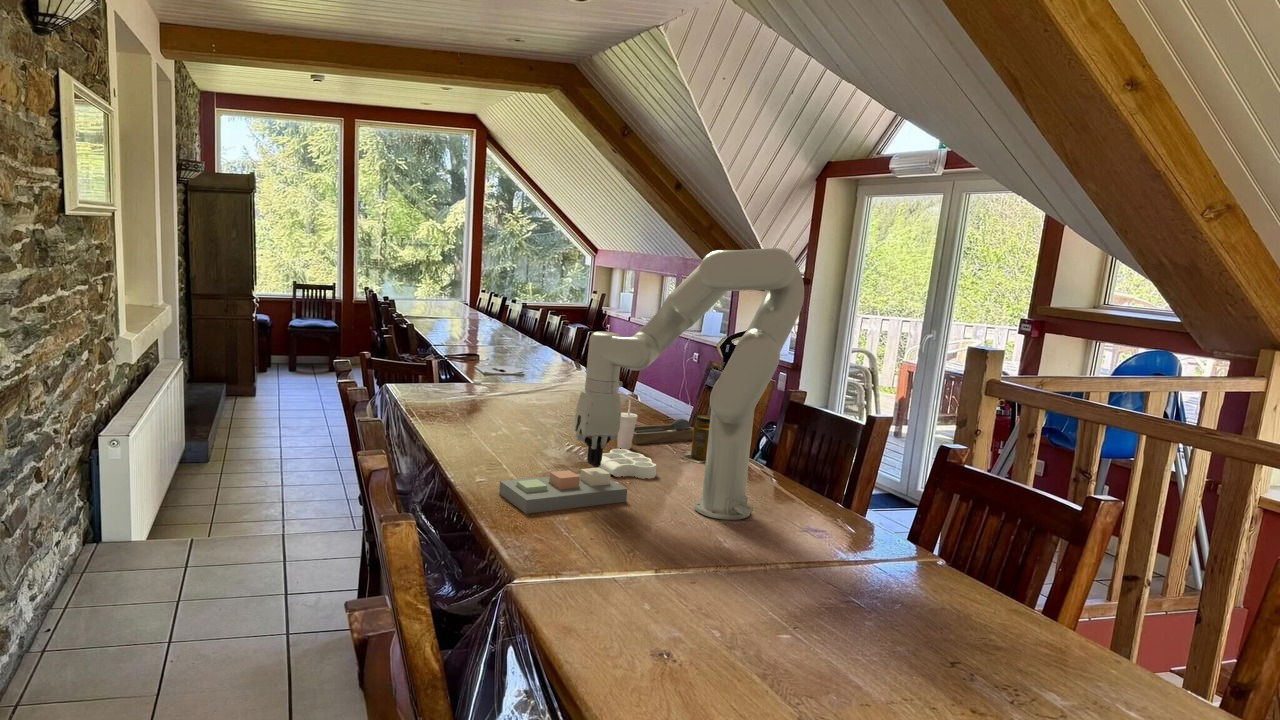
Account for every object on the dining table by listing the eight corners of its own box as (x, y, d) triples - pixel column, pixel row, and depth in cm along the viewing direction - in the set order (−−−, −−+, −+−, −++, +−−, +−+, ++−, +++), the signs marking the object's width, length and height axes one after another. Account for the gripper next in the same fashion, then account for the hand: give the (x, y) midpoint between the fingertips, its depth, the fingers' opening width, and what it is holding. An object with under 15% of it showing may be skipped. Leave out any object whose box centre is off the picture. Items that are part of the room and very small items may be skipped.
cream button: (609, 490, 185) (610, 473, 185) (590, 492, 182) (591, 475, 182) (598, 483, 189) (599, 467, 189) (579, 485, 187) (580, 469, 186)
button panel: (626, 501, 183) (627, 488, 182) (525, 513, 169) (526, 500, 169) (595, 483, 194) (596, 471, 194) (499, 493, 181) (500, 480, 180)
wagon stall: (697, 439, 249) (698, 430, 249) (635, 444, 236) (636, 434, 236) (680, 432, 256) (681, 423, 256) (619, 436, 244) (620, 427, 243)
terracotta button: (578, 493, 181) (579, 476, 180) (558, 495, 178) (560, 478, 177) (568, 487, 185) (569, 470, 184) (548, 489, 182) (549, 472, 182)
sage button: (546, 503, 177) (547, 485, 176) (525, 505, 174) (526, 487, 173) (536, 496, 181) (537, 479, 180) (515, 498, 178) (516, 481, 177)
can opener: (681, 435, 253) (682, 416, 252) (690, 439, 249) (692, 419, 248) (630, 439, 242) (632, 419, 241) (640, 443, 238) (642, 423, 237)
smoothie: (632, 451, 228) (636, 403, 226) (610, 448, 229) (614, 400, 227) (637, 446, 234) (641, 399, 232) (615, 443, 235) (619, 396, 233)
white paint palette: (585, 462, 213) (633, 459, 221) (618, 482, 198) (668, 478, 206) (586, 450, 213) (634, 447, 221) (619, 469, 198) (669, 465, 205)
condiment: (718, 460, 227) (722, 418, 225) (698, 463, 221) (702, 421, 219) (699, 453, 232) (703, 413, 230) (679, 457, 226) (683, 415, 224)
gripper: (621, 382, 190) (613, 458, 192) (564, 383, 181) (557, 461, 184) (638, 389, 184) (630, 467, 186) (580, 390, 175) (573, 471, 178)
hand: (594, 464), depth 185 cm, fingers closed
